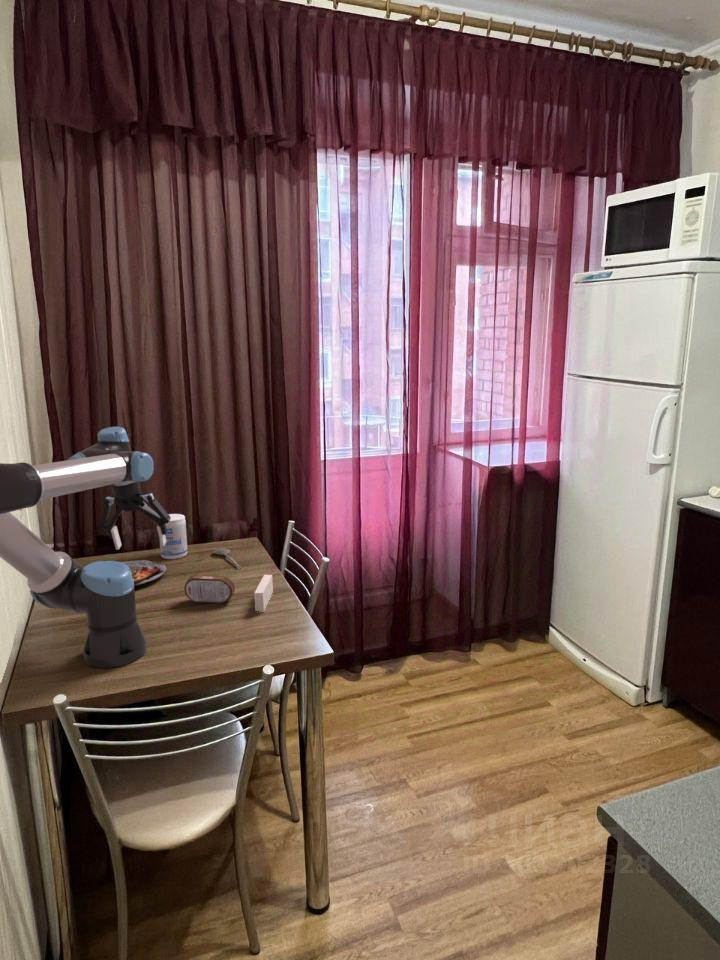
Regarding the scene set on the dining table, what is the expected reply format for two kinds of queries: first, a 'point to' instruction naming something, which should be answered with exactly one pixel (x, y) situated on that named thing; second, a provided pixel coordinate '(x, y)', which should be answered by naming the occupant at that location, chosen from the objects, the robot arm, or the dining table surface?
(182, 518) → the supplement tub
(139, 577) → the food plate
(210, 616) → the dining table surface
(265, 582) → the board
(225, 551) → the soupspoon
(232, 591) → the tin
